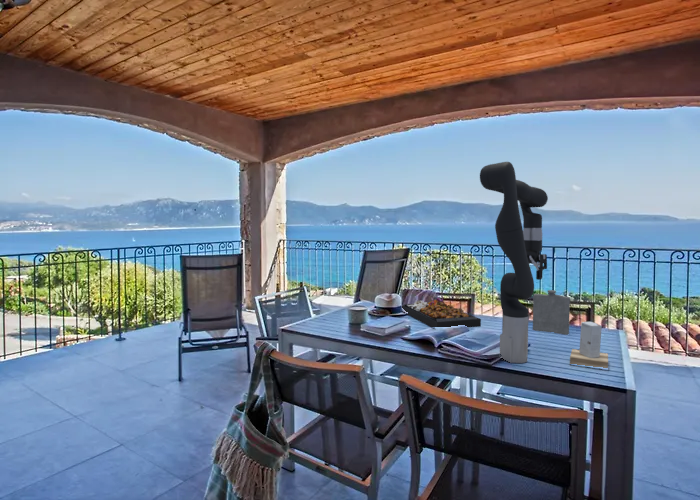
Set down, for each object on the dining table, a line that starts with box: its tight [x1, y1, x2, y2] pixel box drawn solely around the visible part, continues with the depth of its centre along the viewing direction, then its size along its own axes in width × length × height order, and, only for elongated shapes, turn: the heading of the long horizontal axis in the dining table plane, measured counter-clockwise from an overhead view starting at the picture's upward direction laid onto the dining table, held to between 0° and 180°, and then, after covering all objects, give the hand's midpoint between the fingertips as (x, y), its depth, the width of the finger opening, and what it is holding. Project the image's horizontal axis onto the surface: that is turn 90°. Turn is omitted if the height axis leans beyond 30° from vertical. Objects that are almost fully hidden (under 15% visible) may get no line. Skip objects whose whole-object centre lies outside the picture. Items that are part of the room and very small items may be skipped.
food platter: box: [401, 295, 482, 328], centre depth 234 cm, size 45×25×10 cm, turn 16°
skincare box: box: [578, 321, 603, 358], centre depth 159 cm, size 6×4×12 cm
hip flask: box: [532, 289, 571, 336], centre depth 205 cm, size 16×4×20 cm, turn 54°
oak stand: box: [569, 348, 609, 369], centre depth 159 cm, size 12×12×3 cm
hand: (531, 278), depth 177 cm, fingers open, 8 cm apart
